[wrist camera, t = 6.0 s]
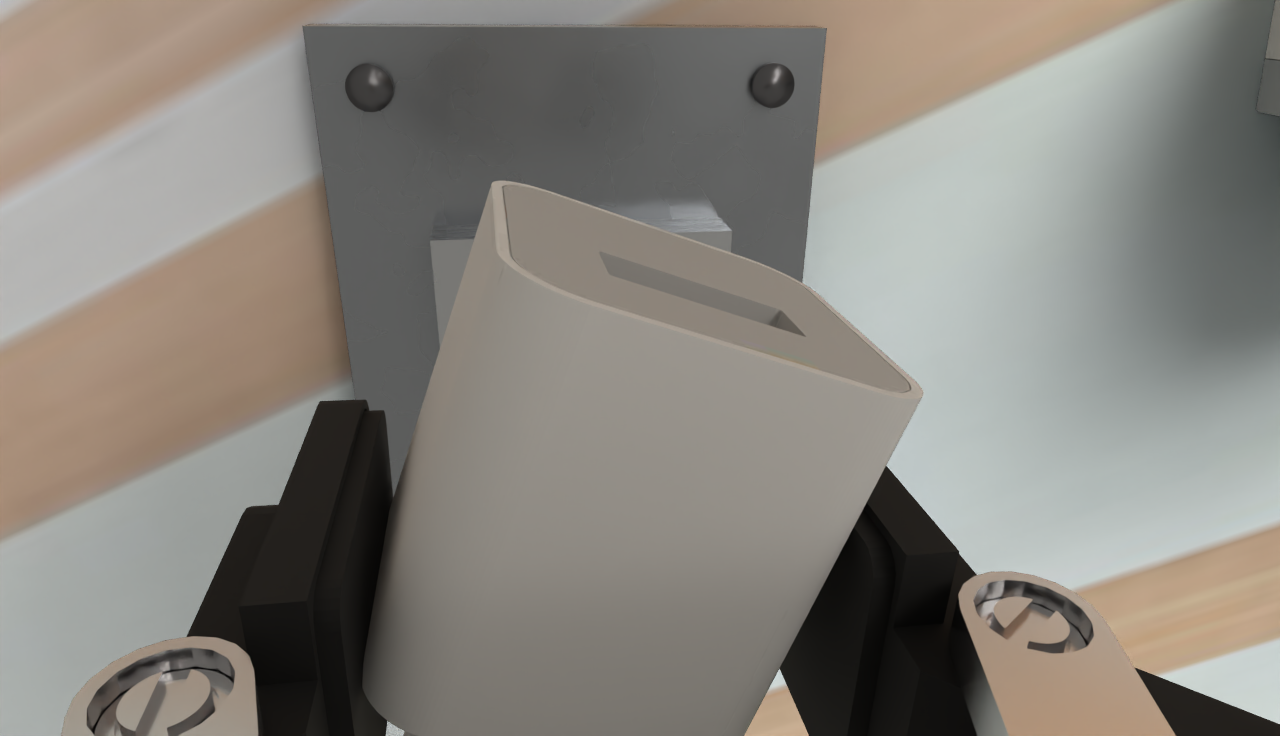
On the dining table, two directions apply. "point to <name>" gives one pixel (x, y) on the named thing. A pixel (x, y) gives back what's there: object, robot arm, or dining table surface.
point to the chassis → (544, 157)
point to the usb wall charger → (620, 483)
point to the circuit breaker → (1271, 69)
